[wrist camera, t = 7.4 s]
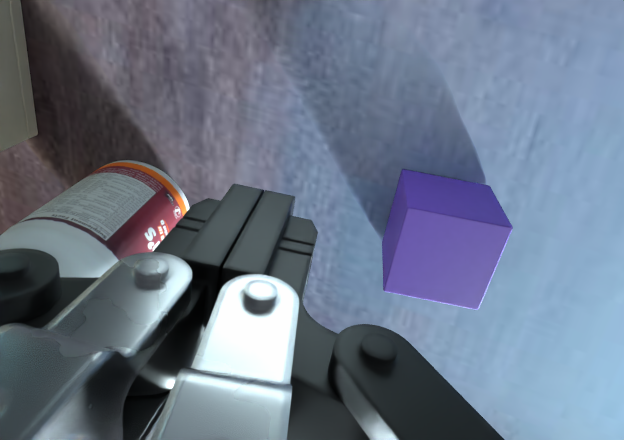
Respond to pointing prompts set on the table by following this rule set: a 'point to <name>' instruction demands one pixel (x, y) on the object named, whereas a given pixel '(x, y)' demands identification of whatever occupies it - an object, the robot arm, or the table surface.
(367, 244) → the table surface
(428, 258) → the purple cube
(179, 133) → the table surface
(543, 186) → the table surface
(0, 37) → the block
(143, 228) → the pill bottle
